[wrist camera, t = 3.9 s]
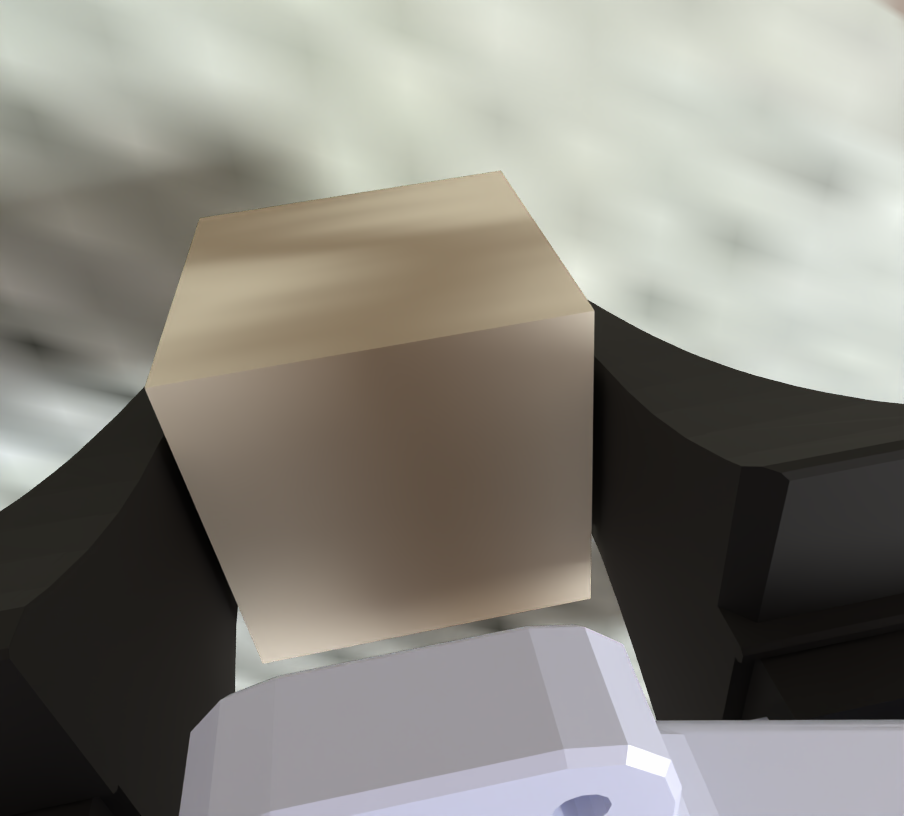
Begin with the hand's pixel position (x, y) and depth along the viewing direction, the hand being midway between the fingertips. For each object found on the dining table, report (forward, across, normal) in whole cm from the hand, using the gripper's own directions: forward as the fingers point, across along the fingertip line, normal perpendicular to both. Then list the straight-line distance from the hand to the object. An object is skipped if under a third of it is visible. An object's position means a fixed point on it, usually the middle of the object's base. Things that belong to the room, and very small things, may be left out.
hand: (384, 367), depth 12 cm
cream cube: (+2, 0, 0) cm, 2 cm away
